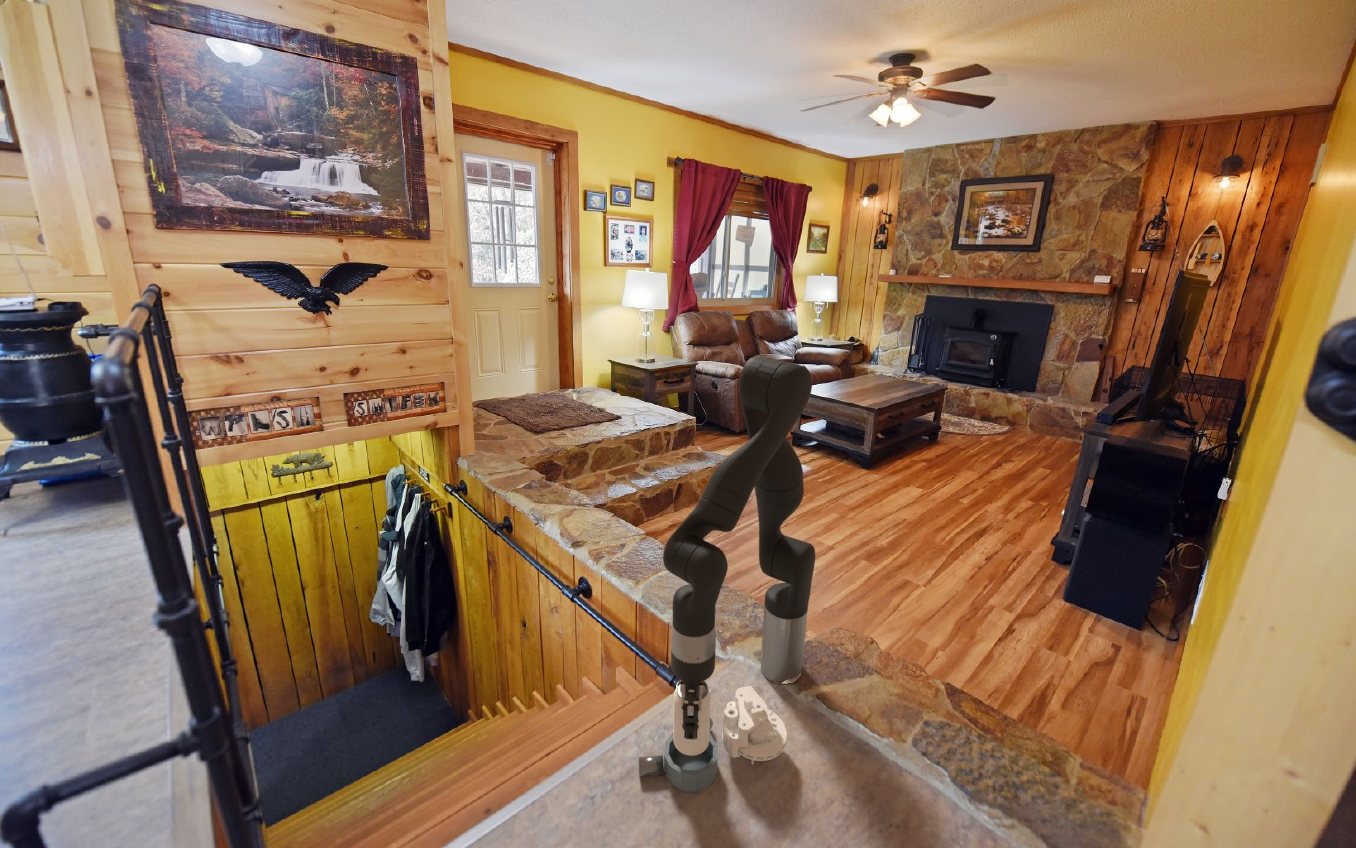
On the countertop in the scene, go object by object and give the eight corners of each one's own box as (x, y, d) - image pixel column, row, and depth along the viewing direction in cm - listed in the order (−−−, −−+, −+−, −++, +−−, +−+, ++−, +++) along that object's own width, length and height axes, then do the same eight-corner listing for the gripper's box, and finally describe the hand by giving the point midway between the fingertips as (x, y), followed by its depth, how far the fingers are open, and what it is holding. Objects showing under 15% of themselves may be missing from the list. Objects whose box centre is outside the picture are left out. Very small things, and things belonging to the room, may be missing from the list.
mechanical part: (789, 778, 101) (794, 729, 97) (723, 777, 101) (725, 727, 97) (779, 726, 111) (783, 679, 107) (720, 724, 111) (721, 678, 107)
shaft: (662, 763, 103) (662, 751, 102) (663, 778, 100) (663, 766, 99) (638, 765, 103) (638, 753, 102) (639, 780, 100) (639, 768, 99)
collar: (667, 743, 107) (667, 726, 106) (717, 747, 107) (717, 729, 105) (662, 791, 98) (662, 772, 97) (716, 795, 97) (717, 776, 96)
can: (684, 721, 104) (685, 669, 100) (715, 736, 101) (717, 683, 97) (666, 746, 98) (666, 693, 95) (698, 763, 95) (699, 709, 91)
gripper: (715, 679, 86) (712, 760, 92) (715, 618, 100) (713, 692, 105) (667, 676, 87) (666, 757, 92) (674, 616, 100) (673, 689, 106)
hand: (691, 722), depth 99 cm, fingers closed on can, 5 cm apart
